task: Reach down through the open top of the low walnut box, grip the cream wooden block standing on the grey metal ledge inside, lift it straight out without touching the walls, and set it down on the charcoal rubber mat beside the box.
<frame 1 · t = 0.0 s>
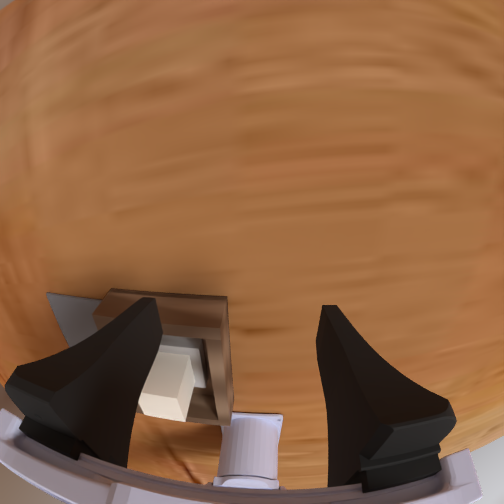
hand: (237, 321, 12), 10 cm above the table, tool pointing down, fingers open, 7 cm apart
walnut box: (177, 352, 28), on the table
charcoal mat: (89, 338, 28), on the table
cream block: (172, 366, 26), point 2 cm above the table, touching walnut box
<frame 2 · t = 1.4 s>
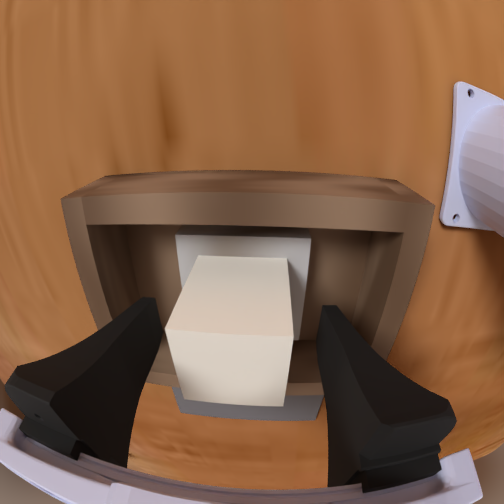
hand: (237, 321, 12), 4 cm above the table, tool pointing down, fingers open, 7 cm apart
walnut box: (245, 272, 16), on the table
charcoal mat: (247, 392, 21), on the table
cream block: (242, 293, 14), point 2 cm above the table, touching walnut box
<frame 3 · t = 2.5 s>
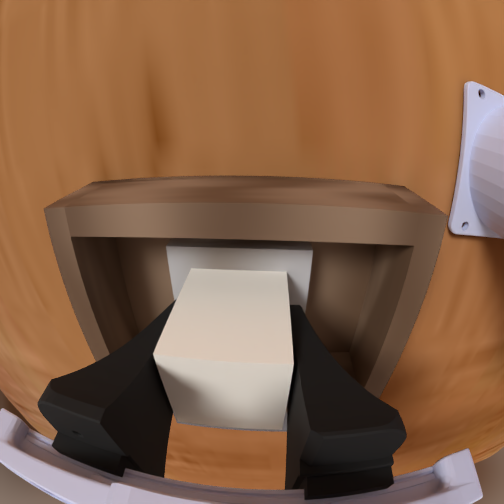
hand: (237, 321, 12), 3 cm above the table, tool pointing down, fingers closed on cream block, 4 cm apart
walnut box: (242, 284, 15), on the table
cream block: (239, 308, 13), point 2 cm above the table, touching gripper, walnut box
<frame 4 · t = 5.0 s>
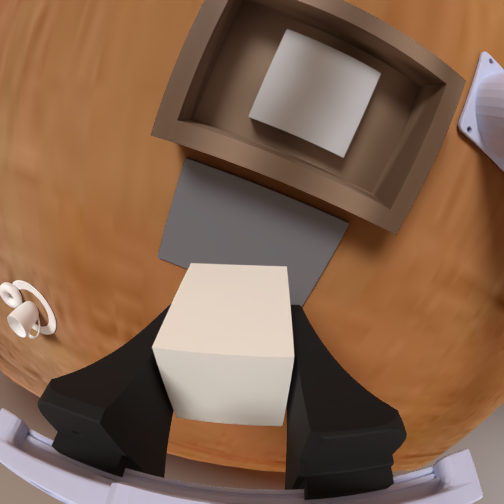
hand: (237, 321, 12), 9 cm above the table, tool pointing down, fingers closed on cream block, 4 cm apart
walnut box: (312, 93, 16), on the table
charcoal mat: (249, 239, 21), on the table
cream block: (238, 303, 13), point 8 cm above the table, touching gripper
teacup and saucer: (28, 284, 26), on the table
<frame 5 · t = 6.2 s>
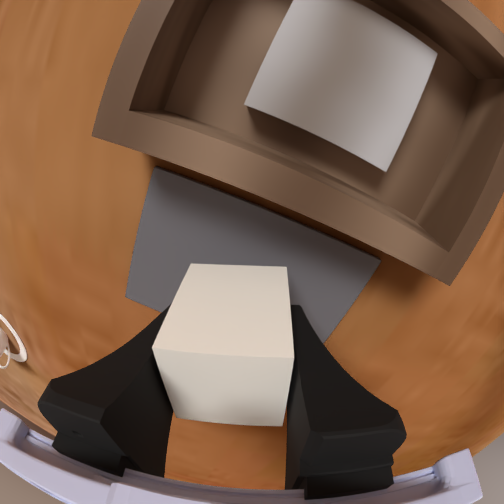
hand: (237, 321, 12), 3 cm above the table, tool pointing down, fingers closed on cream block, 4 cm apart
walnut box: (338, 75, 10), on the table
charcoal mat: (243, 279, 15), on the table
cream block: (238, 304, 13), point 2 cm above the table, touching gripper
when the fingers open (3 cm above the table, at t = 7.2 s): cream block drops 1 cm, resting on charcoal mat.
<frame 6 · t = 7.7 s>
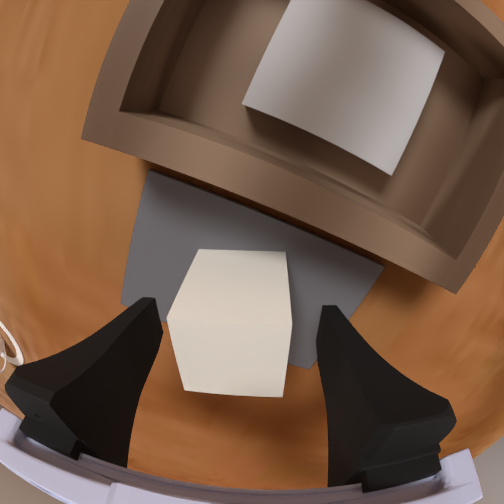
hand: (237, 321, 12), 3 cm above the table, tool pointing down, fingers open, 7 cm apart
walnut box: (341, 74, 10), on the table
charcoal mat: (242, 286, 14), on the table
cream block: (242, 287, 14), resting on charcoal mat
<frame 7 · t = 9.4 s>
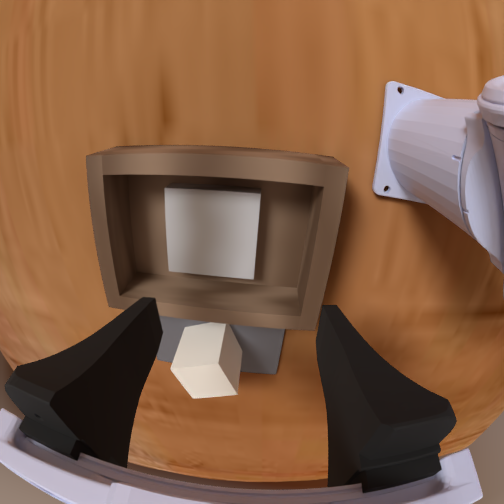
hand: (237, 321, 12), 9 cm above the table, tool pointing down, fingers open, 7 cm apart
walnut box: (215, 224, 20), on the table
charcoal mat: (215, 338, 25), on the table
cream block: (214, 339, 25), resting on charcoal mat
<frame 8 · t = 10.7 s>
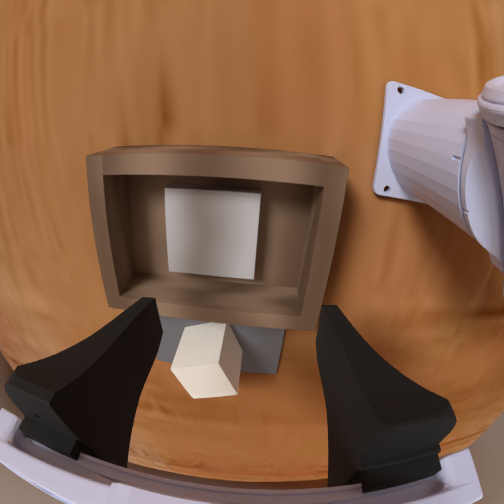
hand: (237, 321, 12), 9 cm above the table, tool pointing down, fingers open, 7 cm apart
walnut box: (215, 224, 20), on the table
charcoal mat: (215, 338, 25), on the table
cream block: (214, 339, 25), resting on charcoal mat
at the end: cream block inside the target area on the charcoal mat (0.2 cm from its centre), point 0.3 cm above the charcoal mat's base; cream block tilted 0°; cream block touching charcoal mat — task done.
